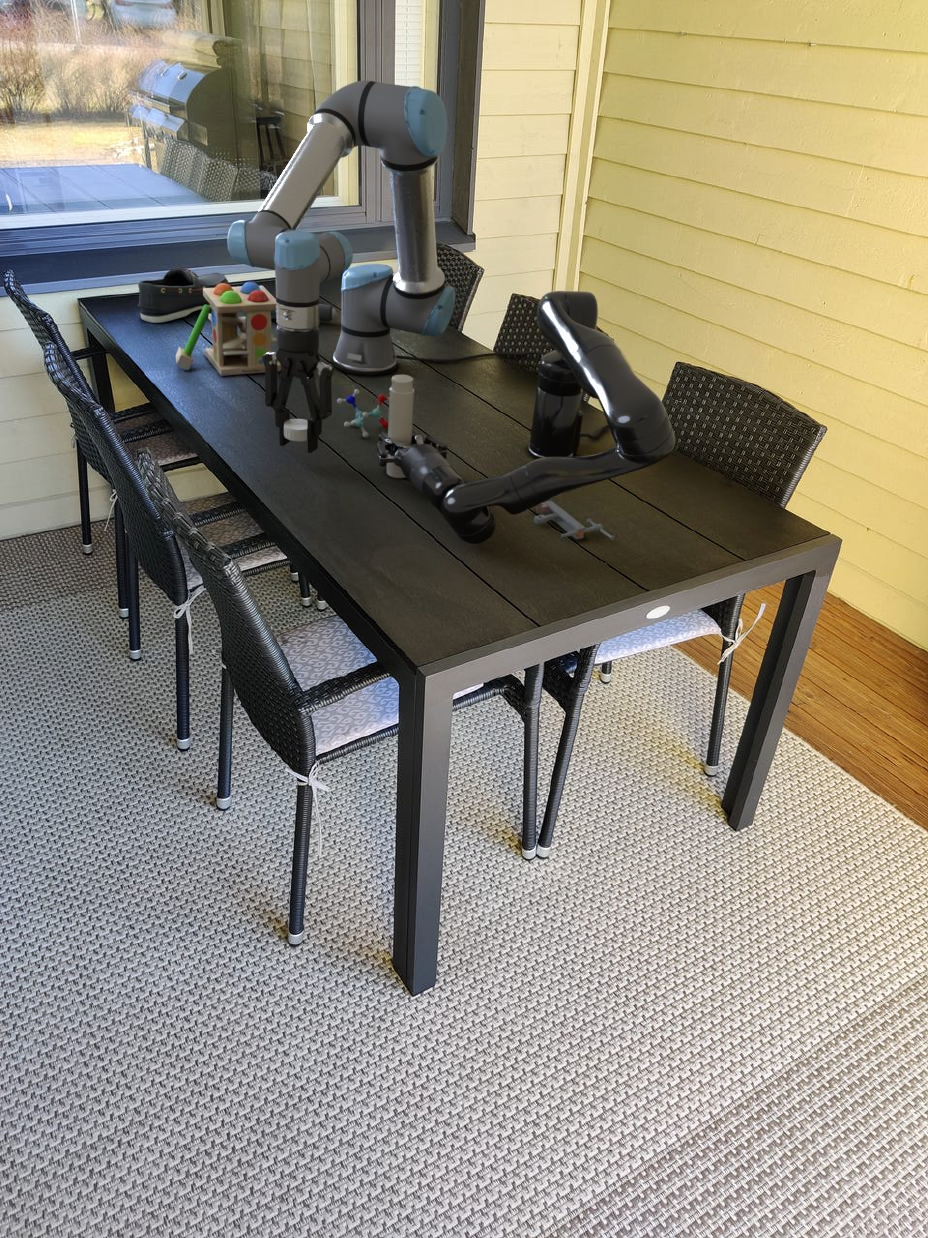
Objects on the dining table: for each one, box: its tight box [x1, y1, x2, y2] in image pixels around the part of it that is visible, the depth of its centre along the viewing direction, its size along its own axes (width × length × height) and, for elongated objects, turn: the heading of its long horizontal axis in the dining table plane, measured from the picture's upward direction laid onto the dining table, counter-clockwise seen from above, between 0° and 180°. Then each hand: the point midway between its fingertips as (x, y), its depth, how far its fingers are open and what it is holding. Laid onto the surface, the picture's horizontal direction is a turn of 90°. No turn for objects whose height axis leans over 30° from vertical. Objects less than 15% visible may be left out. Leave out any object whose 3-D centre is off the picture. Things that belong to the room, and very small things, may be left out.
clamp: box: [533, 500, 616, 542], centre depth 177 cm, size 15×2×10 cm
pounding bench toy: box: [174, 281, 282, 377], centre depth 225 cm, size 23×14×18 cm, turn 116°
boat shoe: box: [137, 266, 230, 324], centre depth 260 cm, size 13×33×10 cm, turn 147°
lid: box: [284, 418, 308, 442], centre depth 185 cm, size 5×5×2 cm
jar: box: [385, 374, 415, 479], centre depth 186 cm, size 5×5×19 cm
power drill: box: [271, 303, 338, 322], centre depth 265 cm, size 5×19×20 cm
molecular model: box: [336, 388, 390, 438], centre depth 204 cm, size 12×10×10 cm
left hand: (298, 446), depth 187 cm, fingers closed on lid, 5 cm apart
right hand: (394, 434), depth 189 cm, fingers closed on jar, 4 cm apart
